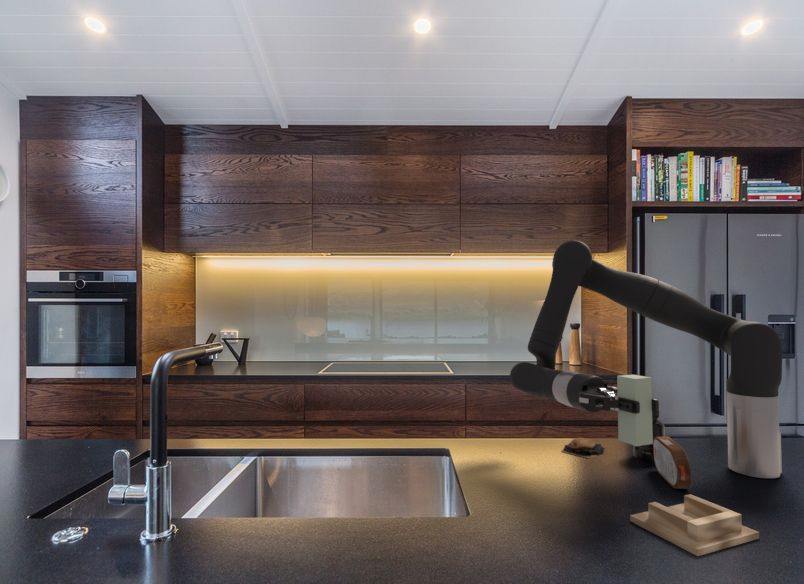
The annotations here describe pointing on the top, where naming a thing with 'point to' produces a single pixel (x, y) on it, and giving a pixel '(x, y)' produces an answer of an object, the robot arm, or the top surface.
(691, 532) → the rack
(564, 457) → the top surface
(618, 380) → the green block
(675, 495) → the top surface
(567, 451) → the bread roll
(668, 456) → the tin
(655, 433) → the supplement bottle
